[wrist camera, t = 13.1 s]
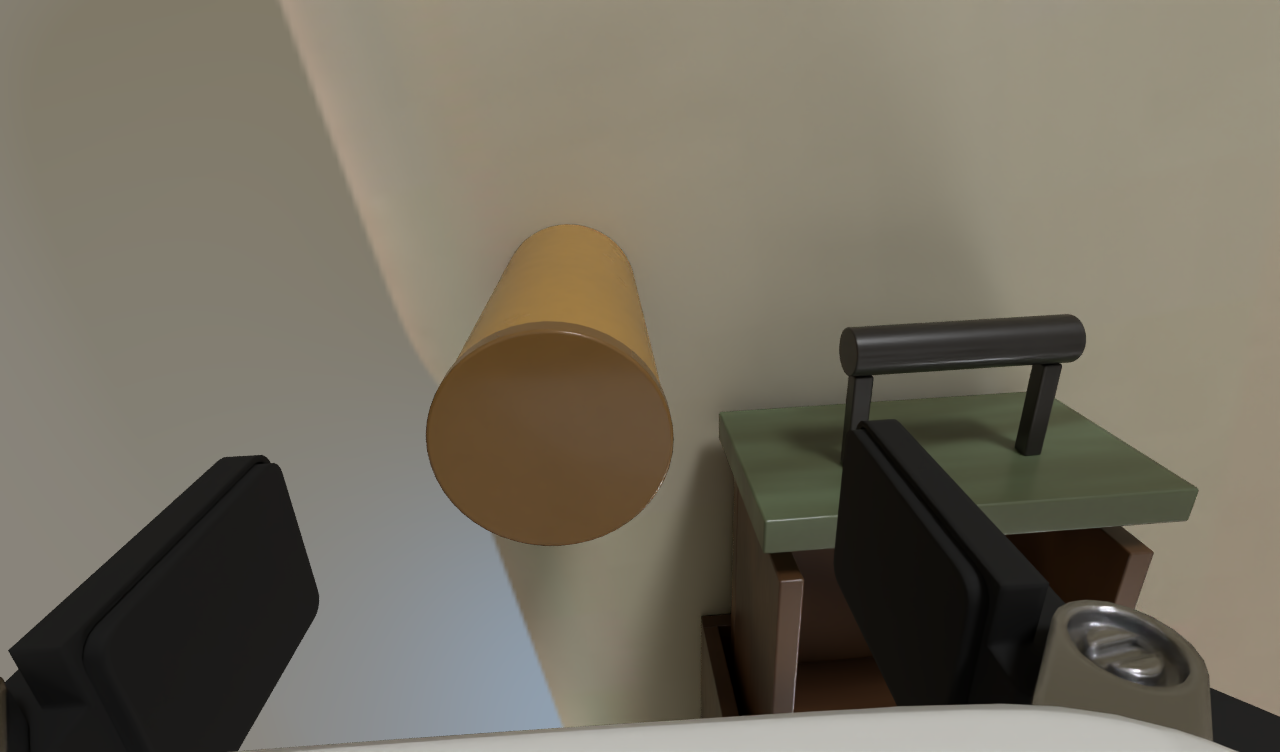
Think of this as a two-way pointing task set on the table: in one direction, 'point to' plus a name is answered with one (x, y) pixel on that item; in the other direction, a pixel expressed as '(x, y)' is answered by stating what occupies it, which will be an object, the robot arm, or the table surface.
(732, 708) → the cabinet
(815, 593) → the drawer
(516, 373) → the tin
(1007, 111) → the table surface
